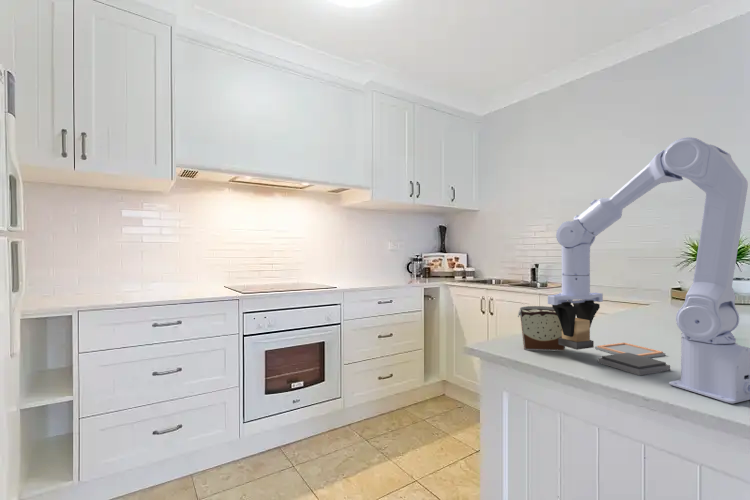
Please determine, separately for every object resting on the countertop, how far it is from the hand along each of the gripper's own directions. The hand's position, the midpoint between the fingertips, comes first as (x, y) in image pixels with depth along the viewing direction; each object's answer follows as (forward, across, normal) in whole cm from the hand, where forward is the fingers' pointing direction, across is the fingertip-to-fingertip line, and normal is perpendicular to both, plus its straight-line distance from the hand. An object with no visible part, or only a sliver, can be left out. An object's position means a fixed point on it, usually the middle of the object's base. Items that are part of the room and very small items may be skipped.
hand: (575, 334), depth 87 cm
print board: (+5, -16, +1) cm, 17 cm away
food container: (+5, 0, -10) cm, 12 cm away
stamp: (+2, 0, 0) cm, 3 cm away
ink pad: (+5, -6, +9) cm, 12 cm away
